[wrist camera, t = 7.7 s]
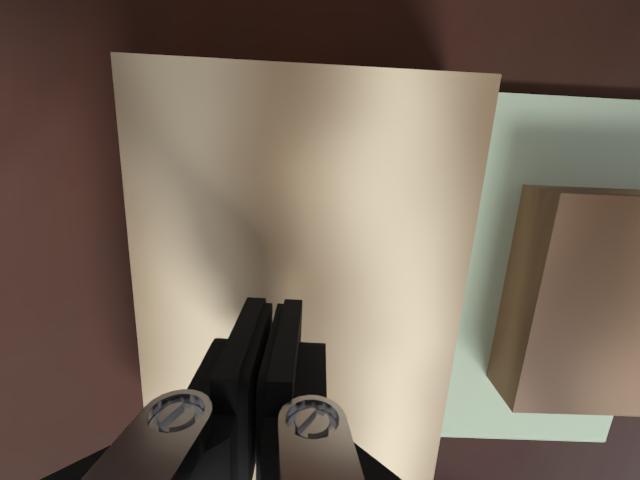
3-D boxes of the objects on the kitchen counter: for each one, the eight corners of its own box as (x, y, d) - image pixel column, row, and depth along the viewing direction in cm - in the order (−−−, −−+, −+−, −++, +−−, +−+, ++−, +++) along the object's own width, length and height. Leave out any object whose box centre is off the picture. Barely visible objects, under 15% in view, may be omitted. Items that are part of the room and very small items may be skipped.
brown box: (560, 193, 13) (523, 184, 15) (512, 412, 15) (486, 375, 17) (731, 200, 13) (667, 190, 15) (656, 416, 15) (611, 379, 17)
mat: (701, 104, 15) (712, 104, 14) (599, 436, 19) (605, 442, 18) (439, 90, 14) (442, 89, 14) (395, 429, 19) (397, 435, 18)
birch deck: (451, 91, 14) (501, 74, 10) (405, 429, 19) (428, 506, 15) (166, 75, 14) (110, 51, 10) (186, 422, 18) (152, 497, 14)
